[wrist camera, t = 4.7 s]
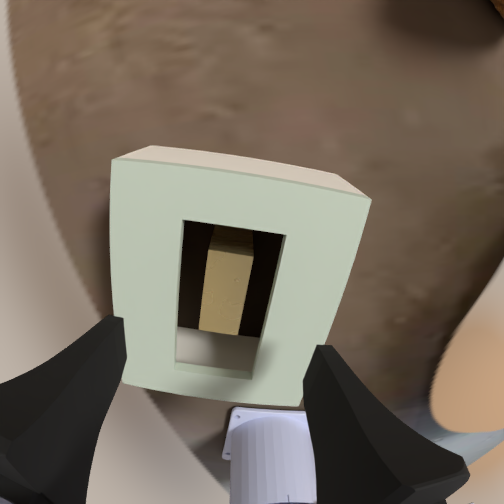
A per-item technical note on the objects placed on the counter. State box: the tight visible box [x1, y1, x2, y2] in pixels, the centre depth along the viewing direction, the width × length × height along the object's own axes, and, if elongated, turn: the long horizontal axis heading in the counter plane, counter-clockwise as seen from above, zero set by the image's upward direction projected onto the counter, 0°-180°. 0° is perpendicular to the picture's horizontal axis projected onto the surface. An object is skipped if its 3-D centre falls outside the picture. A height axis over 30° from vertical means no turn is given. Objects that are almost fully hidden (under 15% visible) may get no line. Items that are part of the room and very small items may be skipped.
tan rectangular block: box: [199, 224, 254, 335], centre depth 17 cm, size 4×2×4 cm, turn 170°
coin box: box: [110, 145, 371, 406], centre depth 16 cm, size 12×10×5 cm
